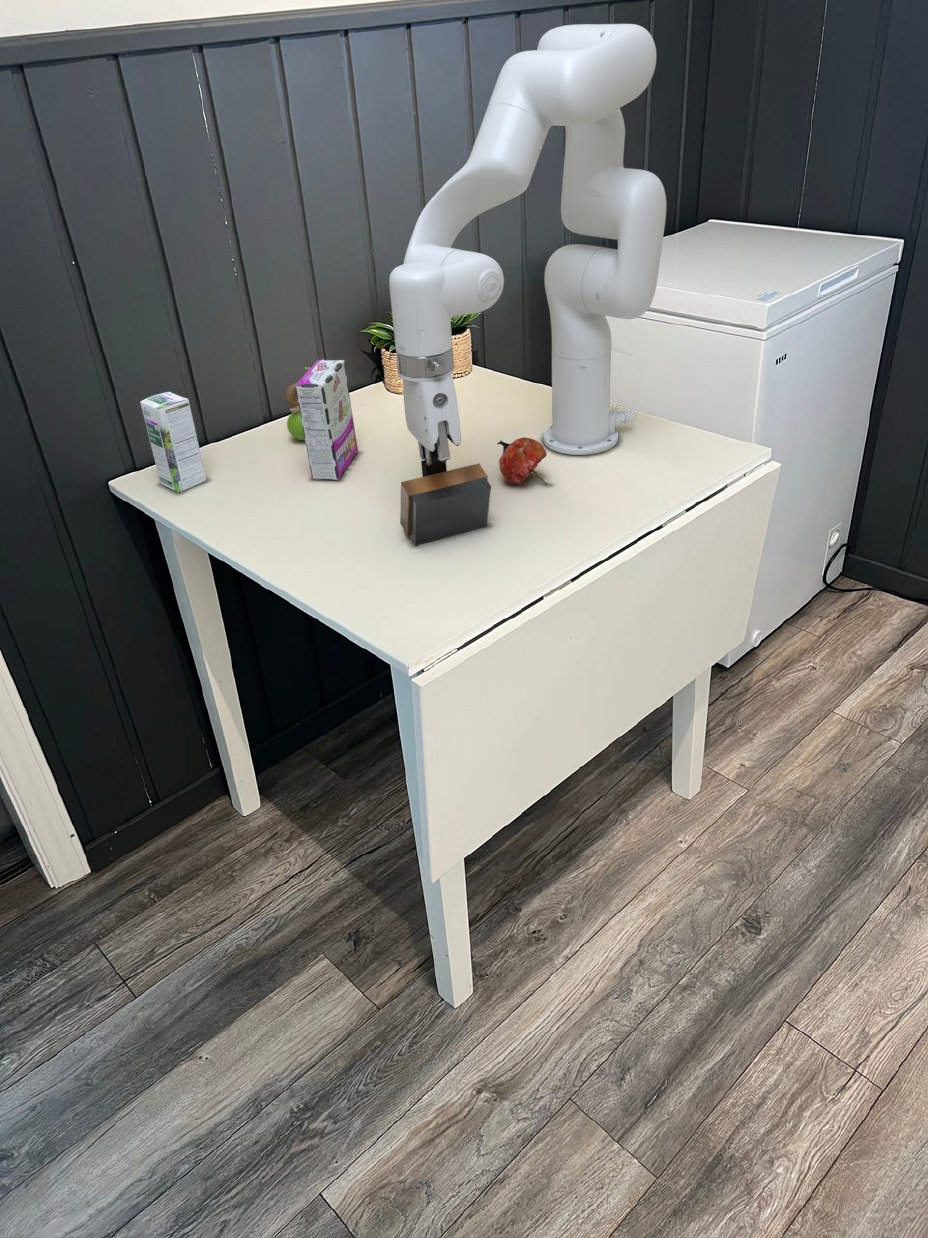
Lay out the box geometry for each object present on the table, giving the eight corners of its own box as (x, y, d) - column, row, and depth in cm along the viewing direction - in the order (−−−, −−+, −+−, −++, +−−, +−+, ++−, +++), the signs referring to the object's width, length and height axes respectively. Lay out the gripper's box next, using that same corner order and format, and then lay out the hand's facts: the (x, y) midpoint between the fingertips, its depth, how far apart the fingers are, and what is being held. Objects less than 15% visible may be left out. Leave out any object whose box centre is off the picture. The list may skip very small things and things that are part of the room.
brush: (475, 503, 141) (479, 462, 135) (489, 526, 138) (494, 485, 132) (400, 522, 137) (400, 481, 131) (412, 546, 135) (413, 505, 128)
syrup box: (159, 484, 156) (136, 400, 148) (189, 471, 160) (169, 389, 152) (178, 493, 153) (156, 408, 145) (208, 480, 157) (189, 396, 148)
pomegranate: (549, 485, 152) (505, 441, 153) (571, 460, 146) (525, 414, 147) (523, 508, 148) (478, 463, 149) (544, 483, 142) (498, 436, 143)
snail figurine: (330, 433, 170) (320, 368, 163) (306, 447, 165) (295, 381, 158) (307, 428, 172) (296, 364, 165) (283, 441, 168) (271, 376, 161)
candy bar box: (331, 451, 163) (317, 358, 154) (359, 452, 162) (346, 358, 153) (309, 480, 154) (293, 383, 145) (339, 481, 153) (324, 384, 144)
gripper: (473, 373, 121) (480, 500, 132) (431, 341, 133) (440, 461, 143) (418, 384, 119) (430, 513, 130) (380, 350, 131) (393, 471, 141)
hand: (435, 485), depth 136 cm, fingers closed
